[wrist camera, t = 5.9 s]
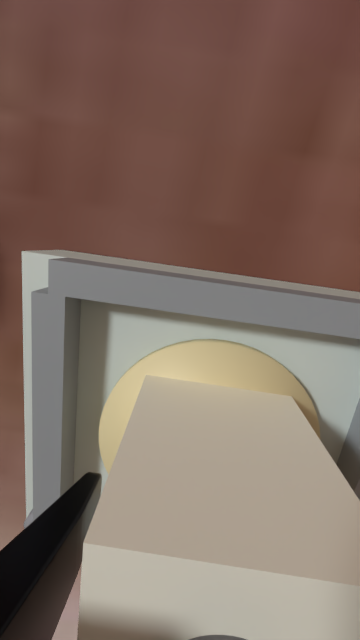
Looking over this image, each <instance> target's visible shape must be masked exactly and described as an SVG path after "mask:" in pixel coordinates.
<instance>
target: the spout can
mask: <svg viewBox="0 0 360 640" xmlns="http://www.w3.org/2000/svg"><path fill="white" fill-rule="evenodd" d="M77 640H360V500H359V499H358V497H357V496H356V494H355V493H354V491H353V490H352V488H351V487H350V485H349V483H348V482H347V480H346V479H345V477H344V476H343V474H342V473H341V471H340V470H339V468H338V467H337V465H336V464H335V462H334V460H333V459H332V457H331V456H330V454H329V453H328V451H327V450H326V448H325V447H324V445H323V444H322V442H321V441H320V439H319V437H318V436H317V434H316V433H315V431H314V430H313V428H312V427H311V425H310V424H309V422H308V421H307V419H306V417H305V416H304V414H303V413H302V411H301V410H300V408H299V407H298V405H297V404H296V402H295V401H294V399H293V398H292V396H286V395H279V394H273V393H266V392H259V391H253V390H246V389H239V388H232V387H226V386H219V385H212V384H206V383H199V382H192V381H186V380H179V379H172V378H166V377H159V376H152V375H146V376H145V379H144V381H143V384H142V387H141V389H140V392H139V395H138V397H137V400H136V403H135V405H134V408H133V411H132V413H131V416H130V419H129V421H128V424H127V427H126V429H125V432H124V435H123V438H122V440H121V443H120V446H119V448H118V451H117V454H116V456H115V459H114V462H113V464H112V467H111V470H110V472H109V475H108V478H107V480H106V483H105V486H104V488H103V491H102V494H101V497H100V499H99V502H98V505H97V507H96V510H95V513H94V515H93V518H92V521H91V523H90V526H89V529H88V531H87V534H86V537H85V539H84V542H83V555H82V571H81V588H80V605H79V622H78V638H77Z"/></svg>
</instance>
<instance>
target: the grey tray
mask: <svg viewBox="0 0 360 640" xmlns="http://www.w3.org/2000/svg"><path fill="white" fill-rule="evenodd" d="M22 296H23V356H24V415H25V475H26V520H25V522H24V529H25V528H26V527H27V526H28V525H30V524H31V523H32V522H33V521H34V520H35V519H36V518H37V517H38V516H39V515H41V514H42V513H43V512H44V511H45V510H46V509H47V508H48V507H49V506H50V505H52V504H53V503H54V502H55V501H56V500H57V499H58V498H59V497H60V496H61V495H62V494H64V493H65V492H66V491H67V490H68V489H69V488H70V487H71V486H72V485H73V484H75V483H76V482H77V481H78V480H79V479H80V478H81V477H82V476H83V475H84V474H86V473H87V472H95V473H100V474H101V475H102V484H101V494H102V491H103V488H104V486H105V483H106V480H107V478H108V475H109V472H110V470H111V467H112V464H113V462H114V459H115V456H116V454H117V451H118V448H119V446H120V443H121V440H122V438H123V435H124V432H125V429H126V427H127V424H128V421H129V419H130V416H131V413H132V411H133V408H134V405H135V403H136V400H137V397H138V395H139V392H140V389H141V387H142V384H143V381H144V379H145V376H146V375H152V376H159V377H166V378H172V379H179V380H186V381H192V382H199V383H206V384H212V385H219V386H226V387H232V388H239V389H246V390H253V391H259V392H266V393H273V394H279V395H286V396H292V398H293V399H294V401H295V402H296V404H297V405H298V407H299V408H300V410H301V411H302V413H303V414H304V416H305V417H306V419H307V421H308V422H309V424H310V425H311V427H312V428H313V430H314V431H315V433H316V434H317V436H318V437H319V439H320V441H321V442H322V444H323V445H324V447H325V448H326V450H327V451H328V453H329V454H330V456H331V457H332V459H333V460H334V462H335V464H336V465H337V467H338V468H339V470H340V471H341V473H342V474H343V476H344V477H345V479H346V480H347V482H348V483H349V485H350V487H351V488H352V490H353V491H354V493H355V494H356V496H357V497H358V499H359V500H360V292H354V291H347V290H340V289H333V288H326V287H319V286H312V285H305V284H298V283H291V282H284V281H277V280H270V279H263V278H256V277H249V276H242V275H235V274H228V273H221V272H214V271H207V270H200V269H193V268H186V267H179V266H172V265H164V264H157V263H150V262H143V261H136V260H129V259H122V258H115V257H108V256H101V255H94V254H87V253H80V252H73V251H66V250H40V251H22ZM100 497H101V496H100Z"/></svg>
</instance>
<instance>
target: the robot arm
mask: <svg viewBox="0 0 360 640" xmlns="http://www.w3.org/2000/svg"><path fill="white" fill-rule="evenodd" d="M101 484H102V475H101V474H100V473H95V472H87V473H86V474H84V475H83V476H82V477H81V478H80V479H79V480H78V481H77V482H76V483H75V484H73V485H72V486H71V487H70V488H69V489H68V490H67V491H66V492H65V493H64V494H62V495H61V496H60V497H59V498H58V499H57V500H56V501H55V502H54V503H53V504H52V505H50V506H49V507H48V508H47V509H46V510H45V511H44V512H43V513H42V514H41V515H39V516H38V517H37V518H36V519H35V520H34V521H33V522H32V523H31V524H30V525H28V526H27V527H26V528H25V529H24V530H23V531H22V532H21V533H20V534H19V535H17V536H16V537H15V538H14V539H13V540H12V541H11V542H10V543H9V544H8V545H6V546H5V547H4V548H3V549H2V550H1V551H0V640H51V639H52V637H53V634H54V632H55V629H56V627H57V624H58V622H59V619H60V617H61V614H62V612H63V609H64V607H65V604H66V602H67V599H68V597H69V594H70V592H71V589H72V587H73V584H74V582H75V579H76V577H77V574H78V571H79V569H80V565H81V562H82V555H83V542H84V539H85V537H86V534H87V531H88V529H89V526H90V523H91V521H92V518H93V515H94V513H95V510H96V507H97V505H98V502H99V499H100V496H101Z"/></svg>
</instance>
